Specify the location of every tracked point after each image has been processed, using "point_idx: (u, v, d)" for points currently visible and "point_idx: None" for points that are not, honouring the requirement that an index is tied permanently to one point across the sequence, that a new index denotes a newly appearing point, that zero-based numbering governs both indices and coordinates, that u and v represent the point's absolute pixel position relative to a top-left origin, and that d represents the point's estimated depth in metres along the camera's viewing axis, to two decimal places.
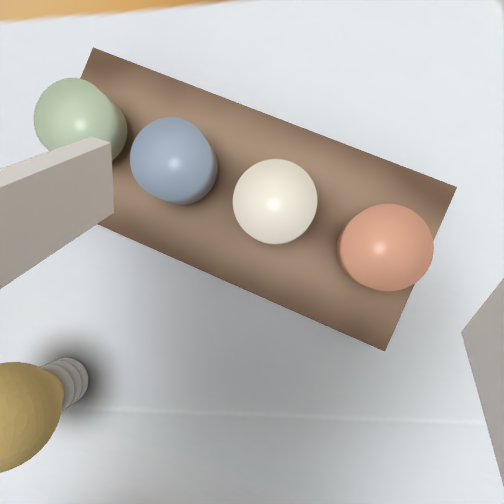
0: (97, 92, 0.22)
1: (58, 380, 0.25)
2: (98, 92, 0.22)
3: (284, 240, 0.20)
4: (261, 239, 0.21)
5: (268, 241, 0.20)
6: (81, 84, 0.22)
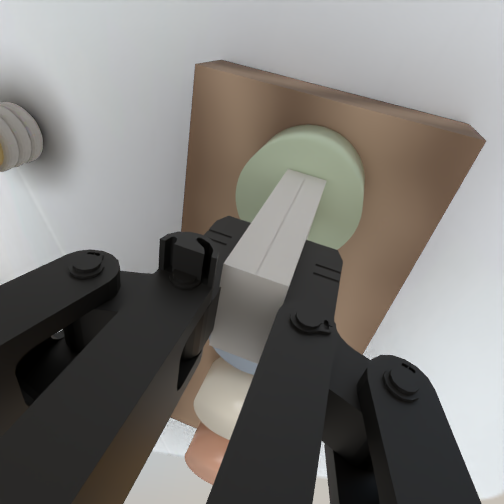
0: (338, 243, 0.14)
1: None
2: (338, 244, 0.14)
3: (200, 418, 0.22)
4: (195, 403, 0.21)
5: (195, 408, 0.21)
6: (350, 218, 0.13)
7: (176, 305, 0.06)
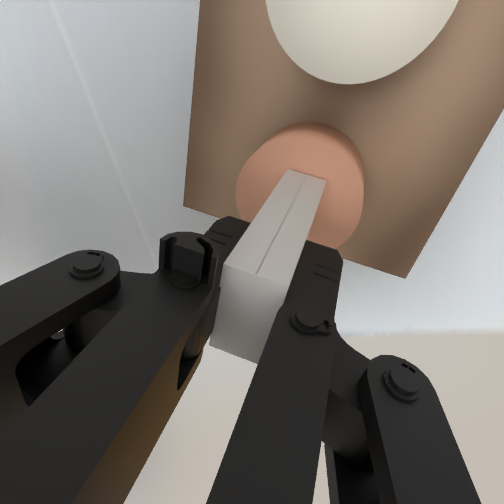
0: None
1: None
2: None
3: (274, 25, 0.10)
4: None
5: None
6: None
7: (176, 305, 0.06)
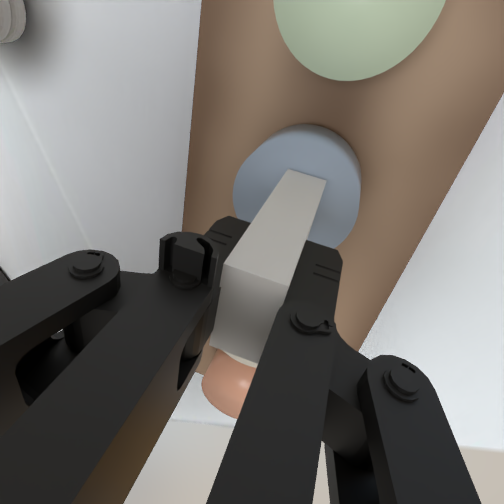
0: (412, 43, 0.10)
1: None
2: (412, 45, 0.10)
3: None
4: None
5: None
6: None
7: (176, 305, 0.06)
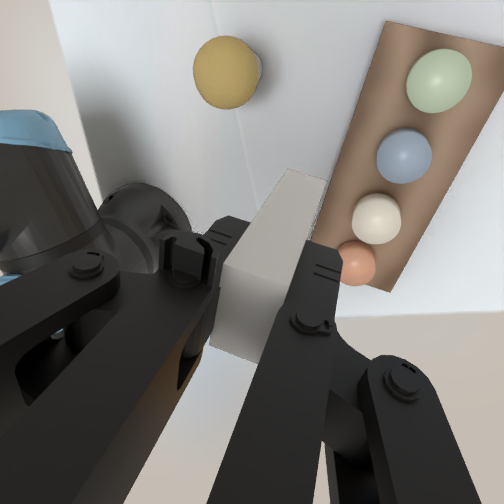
0: (456, 101, 0.31)
1: None
2: (456, 102, 0.31)
3: (353, 230, 0.38)
4: (353, 218, 0.38)
5: (352, 222, 0.38)
6: (464, 87, 0.30)
7: (176, 305, 0.06)
